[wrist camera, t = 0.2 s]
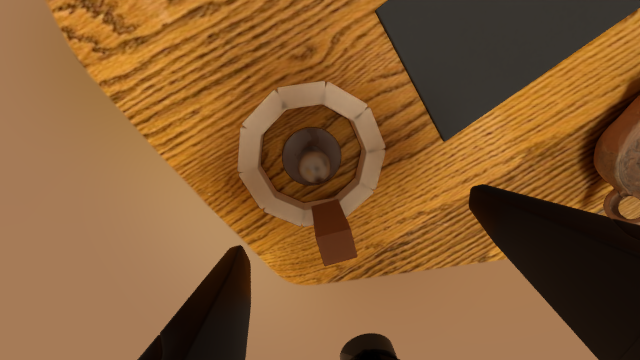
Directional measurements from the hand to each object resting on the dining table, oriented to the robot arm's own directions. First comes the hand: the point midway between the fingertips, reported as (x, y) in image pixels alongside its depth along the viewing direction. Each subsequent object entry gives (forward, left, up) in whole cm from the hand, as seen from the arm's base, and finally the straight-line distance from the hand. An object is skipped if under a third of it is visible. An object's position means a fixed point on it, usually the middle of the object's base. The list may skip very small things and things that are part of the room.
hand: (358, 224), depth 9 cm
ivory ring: (-1, +1, -12) cm, 12 cm away
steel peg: (-1, +1, -12) cm, 12 cm away
